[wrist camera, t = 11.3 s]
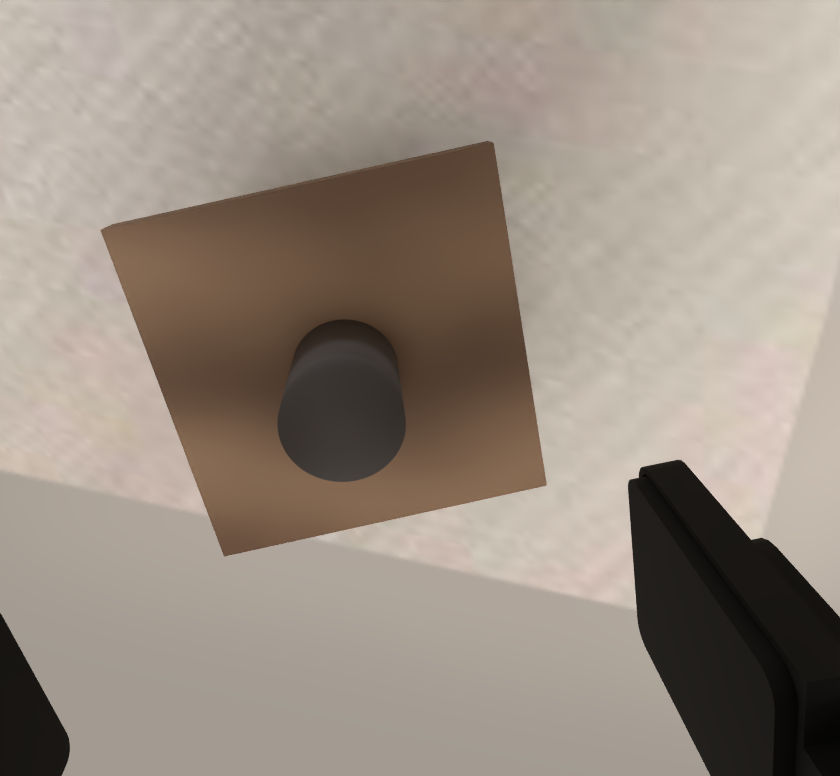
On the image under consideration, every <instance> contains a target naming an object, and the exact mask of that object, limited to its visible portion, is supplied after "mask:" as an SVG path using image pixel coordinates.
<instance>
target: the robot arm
mask: <svg viewBox="0 0 840 776" xmlns="http://www.w3.org/2000/svg"><path fill="white" fill-rule="evenodd" d="M628 494H629V507H630V521H631V535H632V549H633V562H634V576H635V590H636V604H637V617H638V625H639V630H640V634H641V637H642V640H643V643H644V645H645V647H646V649H647V651H648V653H649V655H650V657H651V659H652V661H653V663H654V665H655V667H656V669H657V671H658V673H659V675H660V677H661V679H662V681H663V683H664V685H665V687H666V689H667V691H668V693H669V694H670V697H671V699H672V700H673V703H674V704H675V706H676V708H677V710H678V712H679V714H680V716H681V718H682V720H683V722H684V724H685V726H686V728H687V730H688V732H689V734H690V736H691V738H692V740H693V742H694V744H695V746H696V748H697V750H698V752H699V754H700V756H701V758H702V760H703V762H704V763H705V766H706V768H707V770H708V771H709V773H710V775H711V776H840V617H839V616H838V615H837V614H836V613H835V612H834V610H833V609H832V608H831V607H830V606H829V605H828V604H827V603H826V601H825V600H824V599H823V598H822V597H821V596H820V595H819V594H818V593H817V591H816V590H815V589H814V588H813V587H812V586H811V585H810V584H809V583H808V582H807V580H806V579H805V578H804V577H803V576H802V575H801V574H800V573H799V572H798V570H797V569H796V568H795V567H794V566H793V565H792V564H791V563H790V562H789V561H788V559H787V558H786V557H785V556H784V555H783V554H782V553H781V552H780V551H779V550H778V548H777V547H776V546H774V545H773V544H772V543H771V542H770V541H769V540H766V539H763V538H759V539H754V540H751V539H750V538H749V537H748V536H747V535H746V534H745V532H744V531H743V530H742V529H741V528H740V527H739V525H738V524H737V523H736V522H735V521H734V520H733V518H732V517H731V516H730V515H729V514H728V513H727V512H726V510H725V509H724V508H723V507H722V506H721V505H720V503H719V502H718V501H717V500H716V499H715V498H714V496H713V495H712V494H711V493H710V492H709V491H708V489H707V488H706V487H705V486H704V485H703V484H702V483H701V481H700V480H699V479H698V478H697V477H696V476H695V474H694V473H693V472H692V471H691V470H690V469H689V467H688V466H687V465H686V464H685V463H684V462H683V461H682V460H675V461H670V462H665V463H660V464H655V465H650V466H645V467H642V468H641V469H640V472H639V478H636V479H631V480H630V481H629V483H628ZM69 752H70V744H69V738H68V735H67V733H66V731H65V729H64V727H63V726H62V724H61V722H60V720H59V718H58V717H57V715H56V713H55V711H54V709H53V707H52V706H51V704H50V702H49V700H48V698H47V696H46V695H45V693H44V691H43V689H42V687H41V686H40V684H39V682H38V680H37V678H36V677H35V675H34V673H33V671H32V669H31V667H30V666H29V664H28V662H27V660H26V658H25V657H24V655H23V653H22V651H21V649H20V647H19V646H18V644H17V642H16V640H15V639H14V637H13V635H12V633H11V631H10V629H9V627H8V626H7V624H6V622H5V620H4V618H3V617H2V615H1V614H0V776H61V775H62V773H63V771H64V768H65V766H66V764H67V761H68V758H69Z"/></svg>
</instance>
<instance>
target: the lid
mask: <svg viewBox="0 0 840 776" xmlns="http://www.w3.org/2000/svg"><path fill="white" fill-rule="evenodd" d="M101 232H102V235H103V238H104V240H105V243H106V246H107V248H108V251H109V254H110V256H111V259H112V261H113V264H114V267H115V269H116V272H117V275H118V277H119V280H120V283H121V285H122V288H123V291H124V293H125V296H126V298H127V301H128V304H129V306H130V309H131V312H132V314H133V317H134V320H135V322H136V325H137V327H138V330H139V333H140V335H141V338H142V341H143V343H144V346H145V349H146V351H147V354H148V357H149V359H150V362H151V364H152V367H153V370H154V372H155V375H156V378H157V380H158V383H159V386H160V388H161V391H162V393H163V396H164V399H165V401H166V404H167V407H168V409H169V412H170V415H171V417H172V420H173V423H174V425H175V428H176V430H177V433H178V436H179V438H180V441H181V444H182V446H183V449H184V452H185V454H186V457H187V459H188V462H189V465H190V467H191V470H192V473H193V475H194V478H195V481H196V483H197V486H198V489H199V491H200V494H201V496H202V499H203V502H204V504H205V507H206V510H207V512H208V515H209V518H210V520H211V523H212V525H213V528H214V531H215V533H216V536H217V539H218V541H219V544H220V547H221V549H222V552H223V555H224V556H228V555H232V554H237V553H242V552H246V551H251V550H255V549H260V548H265V547H269V546H273V545H278V544H283V543H287V542H292V541H296V540H301V539H306V538H310V537H315V536H319V535H324V534H328V533H333V532H337V531H342V530H346V529H351V528H355V527H360V526H365V525H369V524H374V523H378V522H383V521H387V520H392V519H396V518H401V517H405V516H410V515H415V514H419V513H424V512H428V511H433V510H437V509H442V508H446V507H451V506H455V505H460V504H464V503H469V502H474V501H478V500H483V499H487V498H492V497H496V496H501V495H505V494H510V493H514V492H519V491H524V490H528V489H533V488H537V487H542V486H546V478H545V472H544V465H543V459H542V452H541V446H540V439H539V433H538V427H537V420H536V414H535V407H534V401H533V394H532V388H531V381H530V375H529V368H528V362H527V356H526V349H525V343H524V336H523V330H522V323H521V317H520V310H519V304H518V298H517V291H516V285H515V278H514V272H513V265H512V259H511V252H510V246H509V239H508V233H507V227H506V220H505V214H504V207H503V201H502V194H501V188H500V181H499V175H498V169H497V162H496V156H495V149H494V143H492V142H489V141H486V142H481V143H477V144H472V145H468V146H463V147H459V148H454V149H450V150H445V151H441V152H436V153H432V154H427V155H423V156H418V157H414V158H409V159H405V160H400V161H396V162H391V163H387V164H382V165H378V166H373V167H369V168H364V169H360V170H355V171H351V172H346V173H342V174H337V175H333V176H328V177H324V178H319V179H315V180H310V181H306V182H301V183H297V184H292V185H288V186H283V187H279V188H274V189H270V190H265V191H261V192H256V193H252V194H247V195H243V196H238V197H234V198H229V199H225V200H220V201H216V202H211V203H207V204H202V205H198V206H193V207H189V208H184V209H180V210H175V211H171V212H166V213H162V214H157V215H153V216H148V217H144V218H139V219H135V220H130V221H126V222H121V223H117V224H112V225H110V226H108V227H106V228H104V229H102V230H101Z"/></svg>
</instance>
